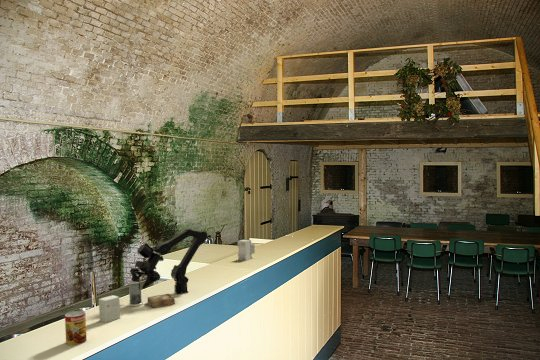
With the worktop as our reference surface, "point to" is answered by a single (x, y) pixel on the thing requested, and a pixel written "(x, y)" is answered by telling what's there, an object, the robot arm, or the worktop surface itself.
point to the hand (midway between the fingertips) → (136, 287)
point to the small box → (109, 308)
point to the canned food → (75, 327)
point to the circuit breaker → (245, 250)
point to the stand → (161, 300)
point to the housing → (135, 293)
